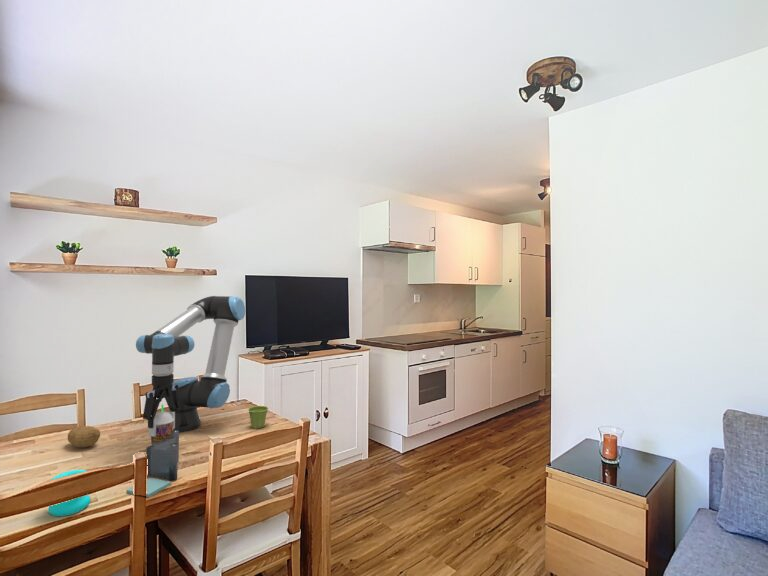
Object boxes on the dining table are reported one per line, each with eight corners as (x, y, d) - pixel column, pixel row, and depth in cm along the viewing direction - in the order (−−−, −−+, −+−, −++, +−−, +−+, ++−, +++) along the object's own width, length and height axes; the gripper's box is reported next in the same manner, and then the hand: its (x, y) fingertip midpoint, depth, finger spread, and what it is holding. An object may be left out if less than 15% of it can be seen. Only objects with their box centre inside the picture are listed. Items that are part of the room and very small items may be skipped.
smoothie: (148, 461, 155) (148, 408, 155) (151, 453, 163) (151, 402, 162) (173, 458, 158) (173, 406, 158) (174, 450, 166) (175, 400, 166)
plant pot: (264, 430, 192) (264, 411, 192) (244, 429, 192) (245, 411, 192) (270, 423, 201) (270, 406, 201) (251, 423, 202) (251, 405, 202)
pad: (126, 493, 132) (126, 489, 132) (149, 480, 141) (149, 477, 141) (148, 497, 130) (148, 494, 130) (170, 484, 138) (170, 481, 138)
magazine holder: (144, 475, 144) (145, 441, 144) (174, 460, 157) (175, 429, 157) (173, 481, 141) (173, 446, 141) (201, 465, 154) (202, 433, 154)
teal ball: (78, 465, 129) (98, 472, 125) (78, 497, 129) (97, 505, 125) (41, 478, 120) (61, 486, 116) (40, 512, 120) (60, 521, 116)
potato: (84, 439, 177) (84, 421, 177) (106, 444, 172) (107, 425, 172) (59, 448, 167) (59, 428, 167) (82, 453, 162) (82, 433, 162)
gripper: (147, 380, 149) (146, 442, 149) (190, 369, 169) (190, 424, 169) (131, 379, 151) (130, 440, 151) (176, 368, 171) (175, 422, 172)
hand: (162, 431), depth 160 cm, fingers closed on smoothie, 8 cm apart
